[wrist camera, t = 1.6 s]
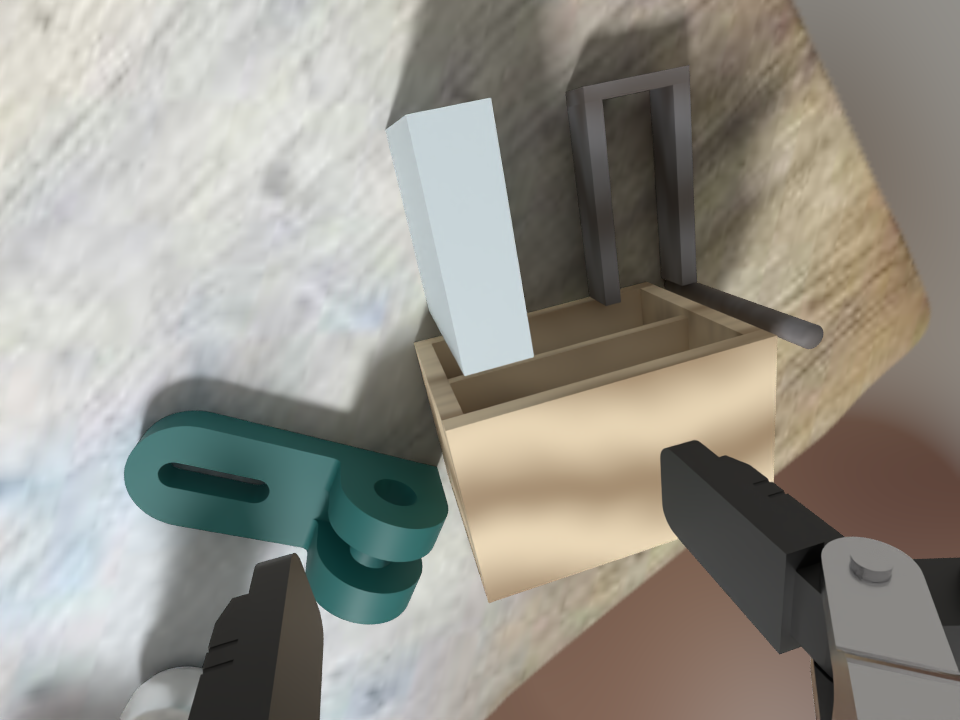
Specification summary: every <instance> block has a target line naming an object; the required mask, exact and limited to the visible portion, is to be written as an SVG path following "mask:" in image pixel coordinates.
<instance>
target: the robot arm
mask: <svg viewBox="0 0 960 720" xmlns="http://www.w3.org/2000/svg"><path fill="white" fill-rule="evenodd" d="M660 466H661V489H662V507H663V512H664V515H665V518H666V520H667V523H668V525H669V526H670V528H671V530H672V531H673V533H674V534H675V535H676V536H677V537H678V538H679V540H680V541H681V542H682V543H683V544H684V545H685V547H686V548H687V549H688V550H689V551H690V552H691V553H692V555H694V557H695V558H696V559H697V560H698V561H699V562H700V564H701V565H702V566H703V567H704V568H705V569H706V571H707V572H708V573H709V574H710V575H711V576H712V577H713V578H714V580H715V581H716V582H717V583H718V584H719V585H720V587H721V588H722V589H723V590H724V591H725V592H726V594H727V595H728V596H729V597H730V598H731V599H732V600H733V602H734V603H735V604H736V605H737V606H738V607H739V608H740V610H741V611H742V612H743V613H744V614H745V615H746V616H747V618H748V619H749V620H750V621H751V622H752V623H753V625H755V627H756V628H757V629H758V630H759V631H760V633H761V634H762V635H763V636H764V637H765V638H766V639H767V641H768V642H769V643H770V644H771V645H772V646H773V647H774V649H775V650H776V651H777V652H778V653H779V654H782V653H785V652H787V651H790V650H793V649H796V648H799V647H802V648H803V649H804V650H805V651H806V652H807V653H808V654H809V655H810V656H811V662H810V672H811V681H812V690H813V699H814V707H815V716H816V720H960V558H938V559H937V558H936V559H911V558H910V557H909V556H908V555H906V554H905V553H904V552H902V551H900V550H898V549H897V548H895V547H893V546H890V545H888V544H886V543H883V542H880V541H877V540H873V539H868V538H863V537H844V536H843V535H841V534H840V533H839V532H838V531H836V530H835V529H834V528H832V527H831V526H829V525H828V524H827V523H826V522H824V521H823V520H822V519H820V518H819V517H818V516H817V515H815V514H814V513H812V512H811V511H810V510H809V509H807V508H806V507H805V506H803V505H802V504H801V503H799V502H798V501H797V500H795V499H794V498H793V497H791V496H790V495H789V494H785V493H784V490H782V489H781V488H779V487H778V486H777V485H776V484H774V483H773V482H769V480H768V478H767V477H765V476H764V475H763V474H761V473H760V472H759V471H757V470H756V469H755V468H753V467H752V466H751V465H749V464H747V463H744V462H742V461H739V460H737V459H734V458H732V457H729V456H727V455H724V456H721V457H718V456H717V455H716V454H715V453H713V452H712V451H711V450H710V449H708V448H707V447H706V446H705V445H703V444H702V443H701V442H699V441H697V440H692V441H688V442H685V443H681V444H678V445H674V446H671V447H667V448H664V449H663V450H662V451H661V454H660ZM208 649H209V653H207V654H206V657H205V661H204V664H203V668H202V670H203V674H201V675H200V678H199V682H198V685H197V689H196V692H195V696H194V700H193V703H192V707H191V710H190V714H189V717H188V720H320V701H321V681H322V661H323V626H322V620H321V615H320V611H319V608H318V605H317V603H316V600H315V597H314V595H313V592H312V590H311V587H310V584H309V582H308V579H307V576H306V574H305V571H304V568H303V566H302V563H301V561H300V558H299V557H298V555H297V554H296V553H293V554H289V555H286V556H282V557H279V558H275V559H272V560H268V561H265V562H261V563H258V564H257V565H256V566H255V569H254V572H253V577H252V581H251V586H250V590H249V594H246V595H242V596H239V597H236V598H232V600H231V601H230V603H229V604H228V606H227V607H226V608H225V610H224V611H223V613H222V614H221V616H220V617H219V618H218V620H217V621H216V623H215V626H214V629H213V633H212V636H211V640H210V643H209V647H208Z"/></svg>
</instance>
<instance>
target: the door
mask: <svg viewBox="0 0 960 720" xmlns="http://www.w3.org/2000/svg"><path fill="white" fill-rule="evenodd" d="M386 134H387V138H388V143H389V147H390V151H391V155H392V159H393V163H394V168H395V172H396V176H397V180H398V184H399V188H400V193H401V197H402V201H403V205H404V209H405V213H406V217H407V222H408V226H409V230H410V234H411V238H412V242H413V247H414V251H415V255H416V259H417V263H418V267H419V271H420V276H421V280H422V284H423V288H424V292H425V296H426V301H427V305H428V309H429V312H430V314H431V315H432V317H433V319H434V321H435V323H436V325H437V326H438V328H439V330H440V332H441V334H442V336H443V338H444V339H445V341H446V343H447V345H448V347H449V349H450V350H451V352H452V354H453V356H454V358H455V360H456V361H457V363H458V365H459V367H460V369H461V371H462V372H463V374H464V376H467V375H471V374H474V373H478V372H482V371H485V370H489V369H493V368H496V367H500V366H503V365H507V364H511V363H514V362H518V361H522V360H525V359H529V358H533V357H534V353H533V347H532V341H531V335H530V329H529V323H528V317H527V311H526V305H525V299H524V293H523V287H522V281H521V275H520V269H519V263H518V257H517V251H516V245H515V239H514V233H513V227H512V221H511V215H510V209H509V203H508V197H507V191H506V185H505V179H504V173H503V167H502V161H501V155H500V149H499V143H498V137H497V131H496V125H495V119H494V113H493V107H492V101H491V98H486V99H481V100H476V101H471V102H466V103H461V104H456V105H451V106H446V107H441V108H436V109H431V110H426V111H421V112H416V113H412V114H407V115H405V116H403V117H402V118H401V119H399V120H398V121H397V122H395V123H394V124H393V125H391V126H390V127H389V128H387V129H386Z"/></svg>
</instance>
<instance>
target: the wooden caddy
mask: <svg viewBox="0 0 960 720" xmlns="http://www.w3.org/2000/svg"><path fill="white" fill-rule="evenodd" d="M648 90H650V102H651V118H652V134H653V151H654V167H655V183H656V199H657V215H658V232H659V248H660V264H661V278H663V279H666V281H665V289H666V290H665V289H663V288H660V287H658V286H656V285H653V284H651V283H648V282H644V283H640V284H636V285H632V286H628V287H624V288H621V289H620V284H619V273H618V263H617V252H616V241H615V230H614V220H613V209H612V198H611V188H610V177H609V166H608V155H607V145H606V134H605V123H604V113H603V102H602V100H605V99H610V98H614V97H619V96H624V95H629V94H634V93H638V92H643V91H648ZM566 99H567V108H568V116H569V125H570V133H571V142H572V150H573V159H574V168H575V176H576V185H577V193H578V202H579V210H580V219H581V227H582V236H583V245H584V253H585V262H586V270H587V279H588V287H589V296H590V297H586V298H583V299H579V300H575V301H571V302H567V303H563V304H560V305H556V306H552V307H548V308H544V309H541V310H537V311H533V312H529V313H527V317H528V323H529V329H530V335H531V341H532V347H533V353H534V357H533V358H529V359H525V360H522V361H518V362H514V363H511V364H507V365H503V366H500V367H496V368H493V369H489V370H485V371H482V372H478V373H474V374H471V375H467V376H464V374H463V372H462V371H461V369H460V367H459V365H458V363H457V361H456V360H455V358H454V356H453V354H452V352H451V350H450V349H449V347H448V345H447V343H446V341H445V339H444V338H443V336H442V335H441V336H437V337H434V338H430V339H426V340H422V341H418V342H415V343H414V346H415V349H416V353H417V357H418V361H419V365H420V369H421V373H422V376H423V380H424V384H425V388H426V392H427V396H428V400H429V404H430V407H431V411H432V415H433V419H434V423H435V427H436V431H437V434H438V438H439V442H440V446H441V450H442V454H443V458H444V462H445V465H446V469H447V473H448V476H449V480H450V483H451V486H452V489H453V492H454V495H455V498H456V502H457V505H458V508H459V511H460V514H461V517H462V520H463V524H464V527H465V530H466V533H467V536H468V539H469V542H470V546H471V549H472V552H473V555H474V558H475V561H476V564H477V568H478V571H479V574H480V577H481V580H482V583H483V586H484V590H485V593H486V596H487V599H488V602H489V603H491V602H493V601H496V600H499V599H502V598H505V597H508V596H511V595H514V594H517V593H520V592H523V591H526V590H529V589H532V588H535V587H538V586H541V585H544V584H547V583H550V582H553V581H556V580H559V579H562V578H565V577H567V576H570V575H573V574H576V573H579V572H582V571H585V570H588V569H591V568H594V567H597V566H600V565H603V564H606V563H609V562H612V561H615V560H618V559H621V558H624V557H627V556H630V555H633V554H636V553H639V552H641V551H644V550H647V549H650V548H653V547H656V546H659V545H662V544H665V543H668V542H671V541H674V540H677V539H679V538H678V537H677V536H676V535H675V534H674V533H673V531H672V530H671V528H670V526H669V525H668V523H667V520H666V518H665V515H664V512H663V507H662V489H661V466H660V454H661V451H662V450H663V449H664V448H667V447H671V446H674V445H678V444H681V443H685V442H688V441H692V440H697V441H699V442H701V443H702V444H703V445H705V446H706V447H707V448H708V449H710V450H711V451H712V452H713V453H715V454H716V455H717V456H718V457H721V456H724V455H727V456H729V457H732V458H734V459H737V460H739V461H742V462H744V463H747V464H749V465H751V466H752V467H753V468H755V469H756V470H757V471H759V472H760V473H761V474H763V475H764V476H765V477H767V478H768V480H769V482H773V483H774V447H775V408H776V369H777V337H779V338H782V339H784V340H786V341H789V342H791V343H794V344H796V345H799V346H801V347H803V348H806V349H812V348H814V347H816V346H817V345H818V344H819V343H820V342H821V340H822V338H823V329H822V328H821V327H820V326H819V325H816V324H813V323H810V322H807V321H805V320H802V319H799V318H796V317H793V316H790V315H788V314H785V313H782V312H779V311H776V310H774V309H771V308H768V307H765V306H762V305H759V304H757V303H754V302H751V301H748V300H745V299H742V298H740V297H737V296H734V295H731V294H728V293H725V292H723V291H720V290H717V289H714V288H711V287H708V286H706V285H703V284H700V283H697V273H696V245H695V217H694V188H693V160H692V132H691V103H690V75H689V65H688V66H683V67H678V68H673V69H668V70H663V71H658V72H653V73H648V74H643V75H638V76H633V77H628V78H624V79H619V80H614V81H609V82H604V83H599V84H594V85H589V86H584V87H581V88H577V89H574V90H571V91H568V92H566Z"/></svg>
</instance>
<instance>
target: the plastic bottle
mask: <svg viewBox="0 0 960 720" xmlns="http://www.w3.org/2000/svg"><path fill="white" fill-rule="evenodd" d="M201 674H203V670H202V668H198V667H187V666H185V667H176V668H171V669H167V670H165V671H162V672H160V673H158V674H156V675H154V676H153V677H151V678H150V679H149V680H147V681H146V682H145V683H143V684H142V685H141V686H139V687H138V689H137V690H136V691H135V692H134V694H133V695H132V697H131V699H130V700H129V702H128V703H127V705H126V707H125V708H124V710H123V712H122V714H121V716H120V719H119V720H188V717H189V714H190V710H191V707H192V703H193V700H194V696H195V692H196V689H197V685H198V682H199V678H200V675H201Z"/></svg>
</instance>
